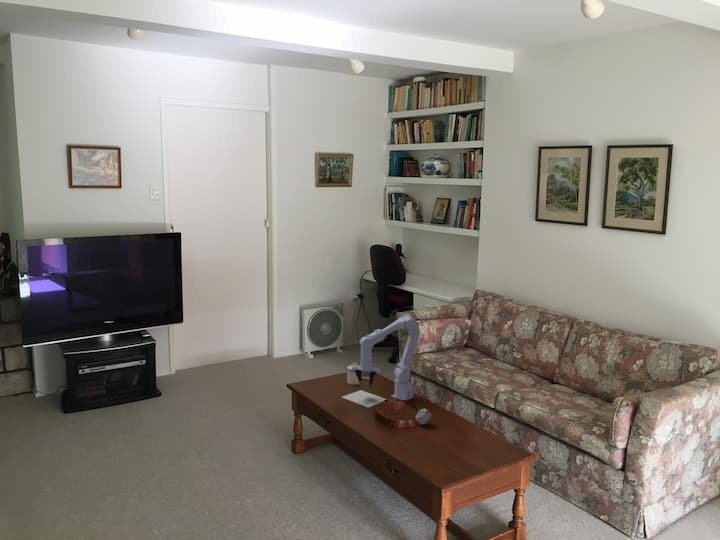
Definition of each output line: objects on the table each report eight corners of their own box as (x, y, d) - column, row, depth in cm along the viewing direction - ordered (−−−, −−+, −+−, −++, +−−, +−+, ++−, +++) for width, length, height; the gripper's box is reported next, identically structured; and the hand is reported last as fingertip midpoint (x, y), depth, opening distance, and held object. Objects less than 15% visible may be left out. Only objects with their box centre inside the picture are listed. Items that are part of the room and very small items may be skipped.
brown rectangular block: (368, 389, 322) (368, 382, 321) (359, 388, 323) (359, 381, 323) (372, 384, 330) (372, 377, 329) (363, 383, 331) (363, 376, 330)
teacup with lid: (365, 384, 351) (365, 364, 349) (351, 386, 347) (351, 366, 345) (356, 377, 362) (356, 358, 360) (341, 380, 358) (342, 360, 356)
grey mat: (388, 400, 326) (388, 399, 326) (368, 408, 316) (368, 407, 316) (360, 391, 340) (360, 389, 340) (341, 398, 330) (341, 396, 329)
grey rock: (419, 432, 297) (407, 416, 295) (425, 420, 303) (413, 405, 302) (433, 428, 291) (420, 412, 289) (439, 416, 297) (427, 400, 296)
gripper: (381, 358, 326) (380, 383, 328) (354, 356, 330) (354, 380, 332) (378, 362, 319) (377, 387, 321) (351, 360, 323) (350, 385, 325)
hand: (365, 384), depth 326 cm, fingers closed on brown rectangular block, 5 cm apart
